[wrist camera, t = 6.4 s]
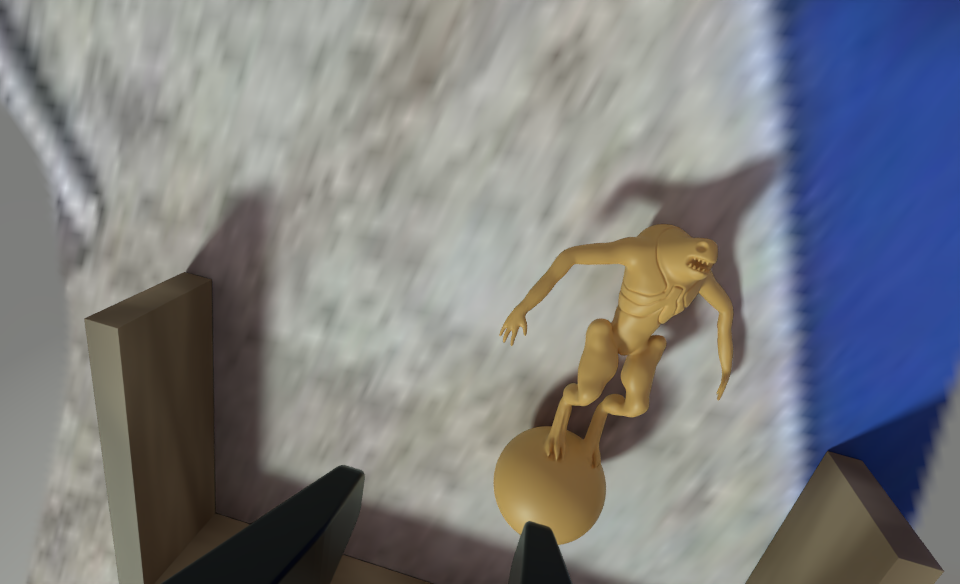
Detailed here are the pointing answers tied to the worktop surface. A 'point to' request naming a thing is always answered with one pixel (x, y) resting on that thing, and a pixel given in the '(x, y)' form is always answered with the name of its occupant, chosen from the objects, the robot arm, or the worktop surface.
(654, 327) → the figurine
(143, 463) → the three-sided wooden wall
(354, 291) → the worktop surface
